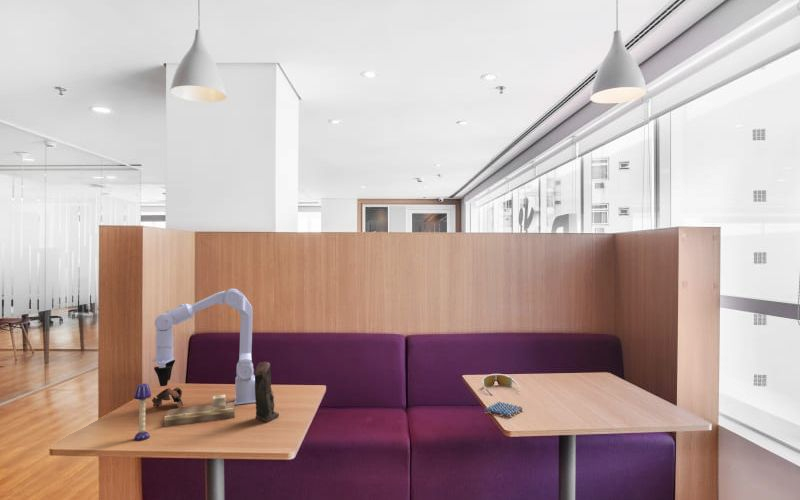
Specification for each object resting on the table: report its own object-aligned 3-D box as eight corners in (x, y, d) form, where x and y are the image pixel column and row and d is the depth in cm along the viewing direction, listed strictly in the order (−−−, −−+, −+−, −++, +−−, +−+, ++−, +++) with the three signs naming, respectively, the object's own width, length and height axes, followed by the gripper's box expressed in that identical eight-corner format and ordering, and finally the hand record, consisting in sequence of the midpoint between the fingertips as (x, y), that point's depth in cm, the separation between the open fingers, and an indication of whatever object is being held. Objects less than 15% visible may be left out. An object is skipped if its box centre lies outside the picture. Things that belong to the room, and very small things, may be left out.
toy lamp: (139, 435, 146) (138, 382, 147) (154, 434, 147) (153, 382, 147) (131, 441, 142) (130, 387, 142) (147, 440, 142) (146, 386, 142)
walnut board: (234, 407, 172) (234, 397, 172) (234, 417, 161) (234, 407, 161) (169, 415, 165) (169, 405, 165) (164, 426, 153) (164, 416, 153)
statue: (279, 416, 161) (278, 359, 161) (267, 424, 154) (266, 364, 154) (263, 414, 163) (262, 358, 163) (250, 422, 156) (249, 363, 156)
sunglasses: (511, 384, 196) (511, 373, 195) (523, 400, 181) (523, 388, 180) (478, 385, 195) (479, 374, 194) (487, 402, 180) (488, 390, 179)
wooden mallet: (225, 403, 170) (225, 389, 170) (225, 411, 161) (225, 397, 161) (214, 404, 169) (214, 391, 169) (213, 413, 160) (212, 399, 160)
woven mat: (482, 414, 162) (482, 408, 162) (498, 406, 169) (498, 400, 169) (509, 420, 154) (508, 414, 154) (524, 412, 162) (524, 406, 162)
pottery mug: (177, 413, 168) (163, 395, 167) (157, 423, 170) (143, 405, 168) (193, 395, 180) (181, 378, 178) (174, 404, 181) (162, 388, 180)
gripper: (155, 343, 175) (156, 379, 175) (149, 351, 162) (149, 389, 162) (176, 342, 178) (176, 377, 178) (171, 349, 164) (171, 387, 164)
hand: (165, 383), depth 170 cm, fingers open, 7 cm apart
